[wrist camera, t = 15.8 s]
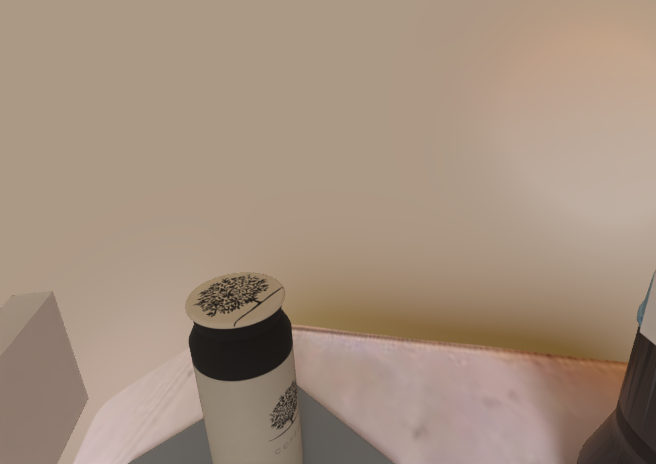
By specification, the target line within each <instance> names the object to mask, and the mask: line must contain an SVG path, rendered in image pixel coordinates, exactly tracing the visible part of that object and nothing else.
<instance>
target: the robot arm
mask: <svg viewBox="0 0 656 464" xmlns="http://www.w3.org/2000/svg"><path fill="white" fill-rule="evenodd" d="M637 321H638V323H639V327H638V330H637V334H636V338H635V341H634V345H633V348H632V352H631V355H630V360H629V363H628V366H627V370H626V373H625V377H624V381H623V384H622V388H621V392H620V396H619V400H618V403H617V407H616V409H615V411H614V412H613V413H612V414H611V415H610V416H609V417H608V418H607V419H606V420H605V421H604V422H603V424H602V425H601V426H600V427H599V428H598V429H597V430H596V431H595V432H594V433H593V434H592V435H591V437H590V438H589V439H588V440H587V441H586V442H585V444H584V445H583V447H582V449H581V451H580V454H579V457H578V460H577V464H656V271H655V273H654V275H653V278H652V280H651V283H650V287H649V289H648V292H647V295H646V298H645V300H644V301H643V302H642V304H641V306H640V307H639V309H638V315H637ZM87 400H88V395H87V392H86V389H85V386H84V384H83V380H82V377H81V374H80V371H79V368H78V365H77V362H76V359H75V356H74V353H73V350H72V347H71V344H70V341H69V338H68V335H67V332H66V329H65V326H64V323H63V320H62V317H61V314H60V311H59V308H58V305H57V302H56V299H55V296H54V293H53V291H51V292H42V293H31V294H21V295H13V296H11V297H10V298H9V299H8V300H7V301H6V303H5V304H4V305H3V306H2V307H1V308H0V464H57V463H58V461H59V459H60V457H61V455H62V453H63V450H64V448H65V446H66V444H67V442H68V440H69V438H70V436H71V434H72V432H73V430H74V427H75V425H76V423H77V421H78V419H79V417H80V415H81V413H82V411H83V409H84V407H85V404H86V402H87Z"/></svg>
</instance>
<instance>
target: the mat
mask: <svg viewBox="0 0 656 464" xmlns="http://www.w3.org/2000/svg"><path fill="white" fill-rule="evenodd" d="M297 394H298V405H299V416H300V427H301V438H302V449H303V464H394V463H393V462H392V461H391V460H389V459H388V458H387V457H386V456H384V455H383V454H382V453H381V452H379V451H378V450H377V449H376V448H374V447H373V446H372V445H371V444H369V443H368V442H367V441H366V440H364V439H363V438H362V437H361V436H359V435H358V434H357V433H356V432H354V431H353V430H352V429H351V428H349V427H348V426H347V425H346V424H344V423H343V422H342V421H341V420H340V419H338V418H337V417H336V416H335V415H333V414H332V413H331V412H330V411H328V410H327V409H326V408H325V407H323V406H322V405H321V404H320V403H318V402H317V401H316V400H315V399H313V398H312V397H311V396H310V395H308V394H307V393H306V392H305V391H303V390H302V389H301V388H300V387H298V386H297ZM128 464H213V461H212V456H211V451H210V446H209V441H208V436H207V431H206V426H205V421H204V418H203V419H202V420H200V421H198V422H197V423H195V424H193V425H192V426H190V427H188V428H187V429H185V430H183V431H182V432H180V433H178V434H177V435H175V436H173V437H172V438H170V439H168V440H167V441H165V442H163V443H162V444H160V445H158V446H157V447H155V448H153V449H152V450H150V451H148V452H147V453H145V454H143V455H142V456H140V457H138V458H137V459H135V460H133V461H132V462H130V463H128Z"/></svg>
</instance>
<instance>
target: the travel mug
mask: <svg viewBox="0 0 656 464" xmlns="http://www.w3.org/2000/svg"><path fill="white" fill-rule="evenodd" d="M284 299H285V290H284V288H283V286H282V284H281V283H280V282H279V281H277V280H276V279H274V278H272V277H270V276H267V275H264V274H259V273H234V274H228V275H224V276H220V277H217V278H214V279H212V280H209V281H207V282H205V283H203V284H202V285H200V286H199V287H197V288H196V289H195V290H194V291H193V292H192V293H191V294H190V295H189V297H188V299H187V301H186V304H185V309H186V313H187V315H188V316H189V317H190V319H191V320H193V322H194V326H193V329H192V331H191V334H190V336H189V347H190V352H191V357H192V362H193V367H194V372H195V377H196V382H197V387H198V392H199V397H200V402H201V406H202V411H203V416H204V421H205V426H206V431H207V436H208V441H209V446H210V451H211V456H212V461H213V464H303V449H302V438H301V427H300V416H299V405H298V394H297V383H296V373H295V362H294V351H293V340H292V329H291V323H290V320H289V318H288V317H287V315H286V314H285V313H284V312H283V310H282V309H281V306H282V303H283V301H284Z"/></svg>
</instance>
